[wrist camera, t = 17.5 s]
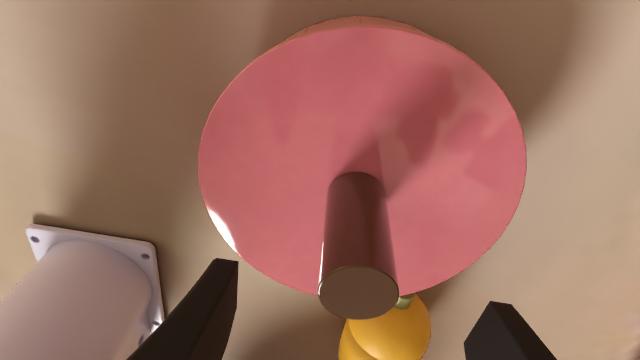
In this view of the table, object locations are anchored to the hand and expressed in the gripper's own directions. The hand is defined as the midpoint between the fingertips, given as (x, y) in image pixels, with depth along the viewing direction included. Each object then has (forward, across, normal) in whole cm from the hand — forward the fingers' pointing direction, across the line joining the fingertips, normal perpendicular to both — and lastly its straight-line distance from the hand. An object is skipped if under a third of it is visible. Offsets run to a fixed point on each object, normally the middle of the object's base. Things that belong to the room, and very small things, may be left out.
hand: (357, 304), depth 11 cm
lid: (+6, 0, 0) cm, 6 cm away
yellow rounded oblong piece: (+10, -4, +12) cm, 16 cm away
